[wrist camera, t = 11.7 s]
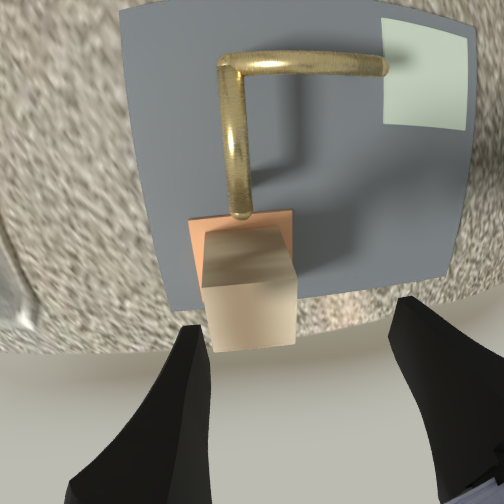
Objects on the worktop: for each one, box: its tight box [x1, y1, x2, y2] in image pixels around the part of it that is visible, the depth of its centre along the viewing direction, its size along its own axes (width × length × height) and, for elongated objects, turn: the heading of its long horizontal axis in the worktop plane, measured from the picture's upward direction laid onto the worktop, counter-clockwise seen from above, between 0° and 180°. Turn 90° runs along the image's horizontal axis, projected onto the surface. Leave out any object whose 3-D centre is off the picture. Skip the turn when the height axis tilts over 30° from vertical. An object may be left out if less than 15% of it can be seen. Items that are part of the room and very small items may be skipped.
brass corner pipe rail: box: [216, 50, 390, 221], centre depth 13 cm, size 7×7×4 cm
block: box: [201, 226, 298, 352], centre depth 17 cm, size 4×4×5 cm
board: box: [119, 0, 477, 312], centre depth 17 cm, size 20×18×1 cm
